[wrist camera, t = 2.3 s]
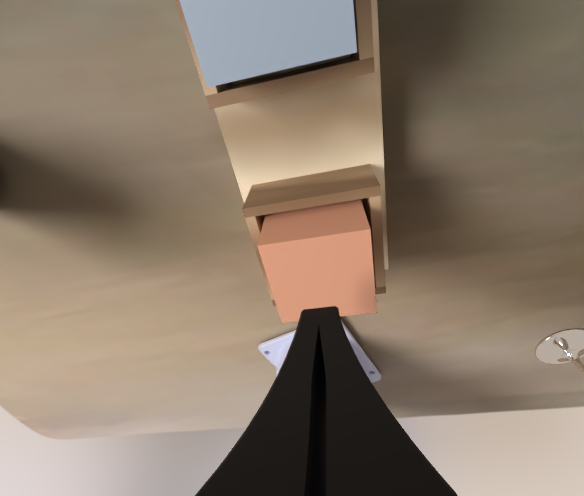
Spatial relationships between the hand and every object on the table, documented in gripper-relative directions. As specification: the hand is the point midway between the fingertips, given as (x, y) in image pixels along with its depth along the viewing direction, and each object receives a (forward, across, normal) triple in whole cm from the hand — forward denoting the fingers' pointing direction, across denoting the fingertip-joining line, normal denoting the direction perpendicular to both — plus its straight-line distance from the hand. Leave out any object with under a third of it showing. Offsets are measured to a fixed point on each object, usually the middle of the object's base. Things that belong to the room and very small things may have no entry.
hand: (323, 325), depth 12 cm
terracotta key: (+6, 0, 0) cm, 6 cm away
